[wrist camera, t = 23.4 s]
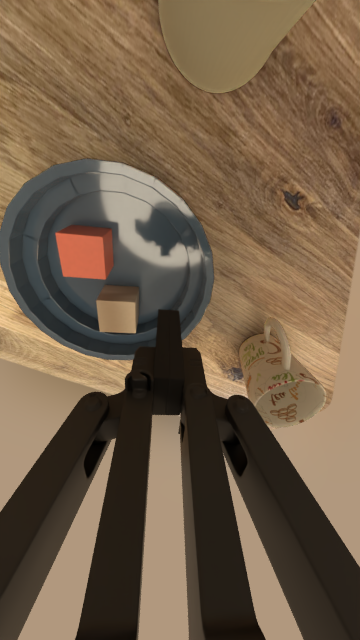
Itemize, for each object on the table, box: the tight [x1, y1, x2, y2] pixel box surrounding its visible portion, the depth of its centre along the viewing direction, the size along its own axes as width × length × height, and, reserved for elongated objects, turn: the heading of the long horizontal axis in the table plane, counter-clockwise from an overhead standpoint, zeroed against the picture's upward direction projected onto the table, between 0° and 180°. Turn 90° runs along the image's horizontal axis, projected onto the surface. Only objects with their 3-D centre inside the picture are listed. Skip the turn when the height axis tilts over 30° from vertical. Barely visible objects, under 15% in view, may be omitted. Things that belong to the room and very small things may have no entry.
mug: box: [239, 317, 326, 428], centre depth 29 cm, size 8×13×10 cm, turn 11°
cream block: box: [96, 285, 139, 333], centre depth 26 cm, size 4×4×4 cm
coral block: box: [55, 225, 114, 279], centre depth 22 cm, size 4×4×4 cm
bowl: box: [0, 158, 214, 360], centre depth 24 cm, size 20×20×5 cm
